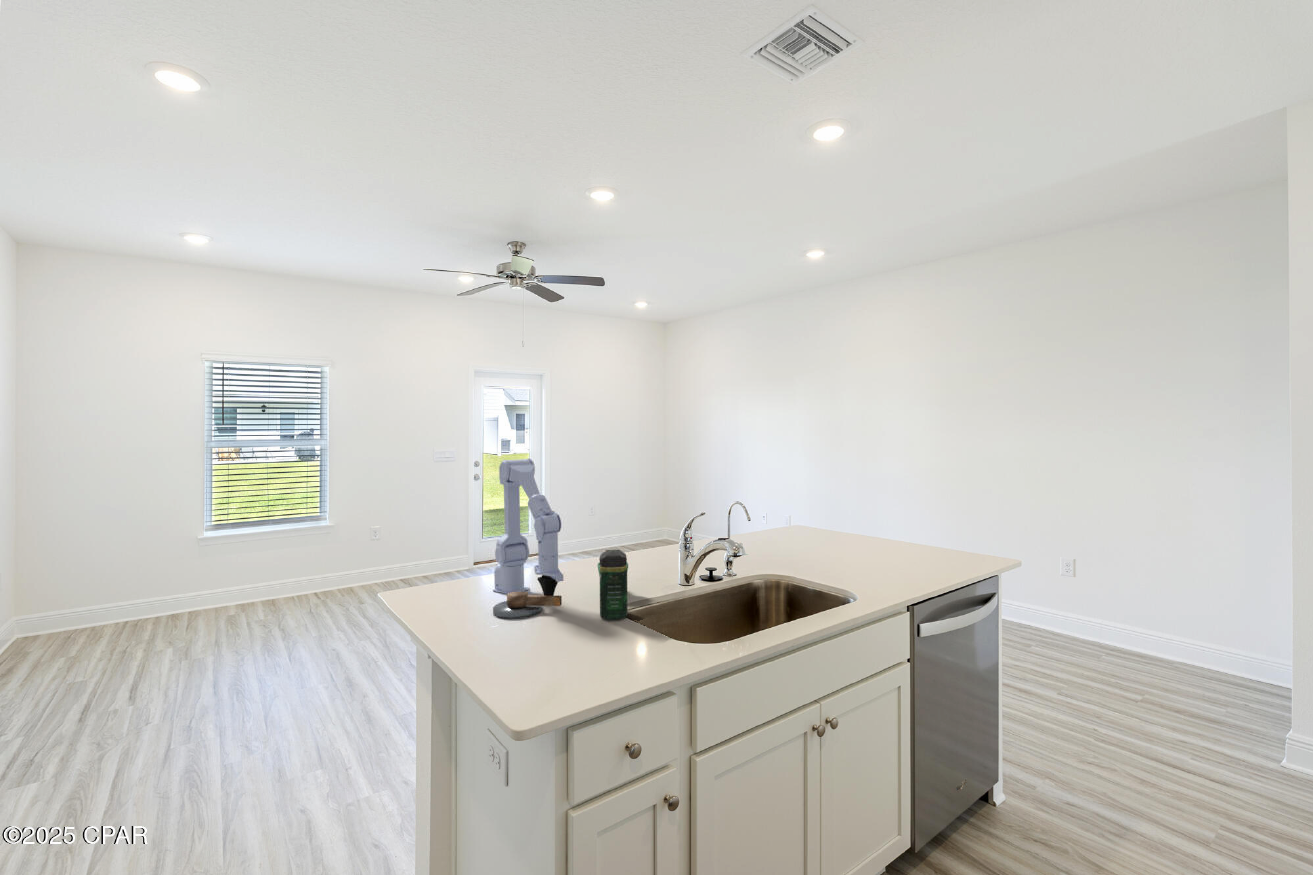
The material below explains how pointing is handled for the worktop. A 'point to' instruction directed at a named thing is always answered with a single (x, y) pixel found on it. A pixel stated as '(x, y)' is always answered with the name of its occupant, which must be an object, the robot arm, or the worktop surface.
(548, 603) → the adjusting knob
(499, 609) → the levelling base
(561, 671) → the worktop surface
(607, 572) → the coffee jar
